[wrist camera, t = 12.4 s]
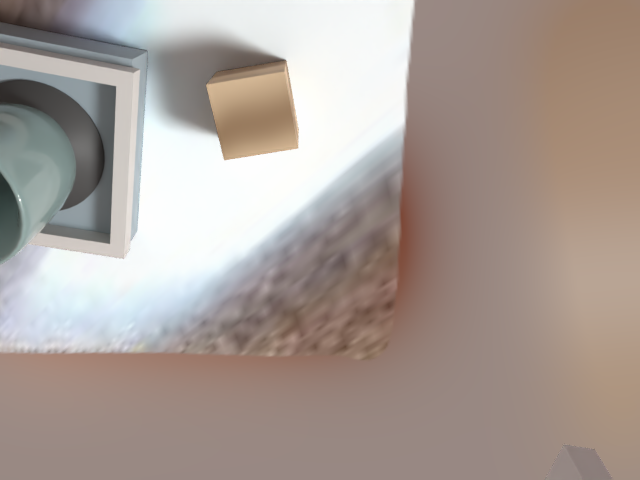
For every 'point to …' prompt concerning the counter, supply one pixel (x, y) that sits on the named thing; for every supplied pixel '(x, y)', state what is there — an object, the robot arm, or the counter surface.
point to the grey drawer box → (85, 129)
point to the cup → (31, 174)
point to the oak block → (254, 110)
